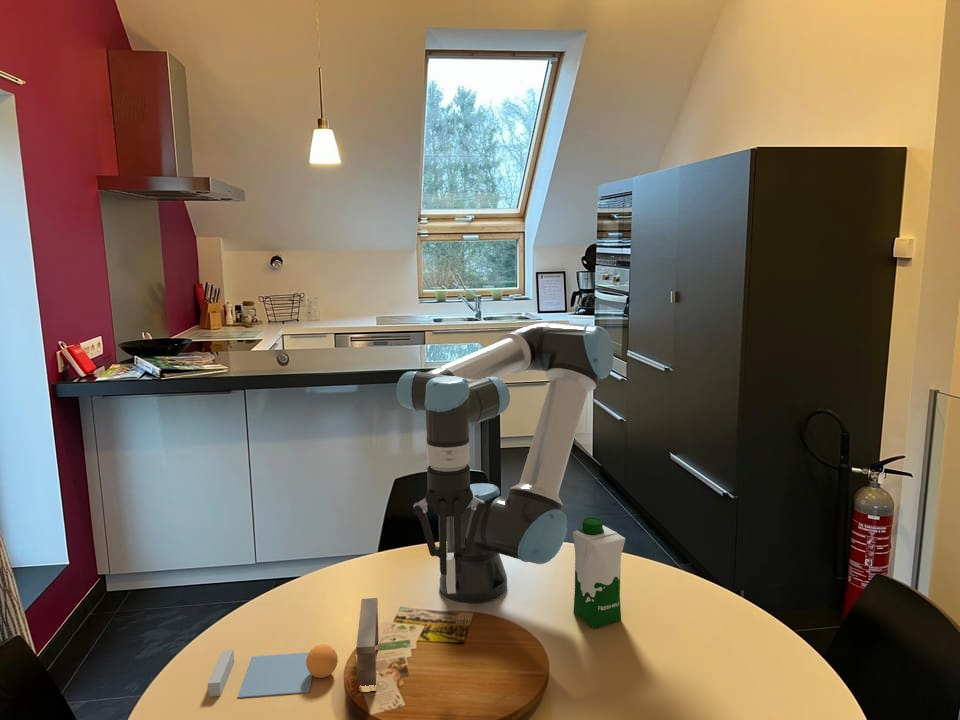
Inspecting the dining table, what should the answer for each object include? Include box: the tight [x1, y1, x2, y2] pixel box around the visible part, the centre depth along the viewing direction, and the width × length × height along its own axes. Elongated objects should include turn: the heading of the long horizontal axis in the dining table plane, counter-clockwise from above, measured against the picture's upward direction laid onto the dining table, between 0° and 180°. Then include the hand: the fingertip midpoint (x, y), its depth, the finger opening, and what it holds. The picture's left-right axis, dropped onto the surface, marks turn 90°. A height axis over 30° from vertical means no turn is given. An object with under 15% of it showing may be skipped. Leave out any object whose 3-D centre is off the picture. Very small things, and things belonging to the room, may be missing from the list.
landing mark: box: [237, 652, 314, 699], centre depth 127 cm, size 12×12×1 cm
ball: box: [306, 644, 339, 679], centre depth 126 cm, size 6×6×6 cm
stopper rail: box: [207, 648, 235, 698], centre depth 125 cm, size 10×2×2 cm, turn 6°
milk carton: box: [572, 517, 626, 629], centre depth 143 cm, size 9×9×20 cm
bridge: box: [355, 597, 380, 686], centre depth 128 cm, size 3×16×9 cm, turn 6°
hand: (451, 589), depth 128 cm, fingers closed
